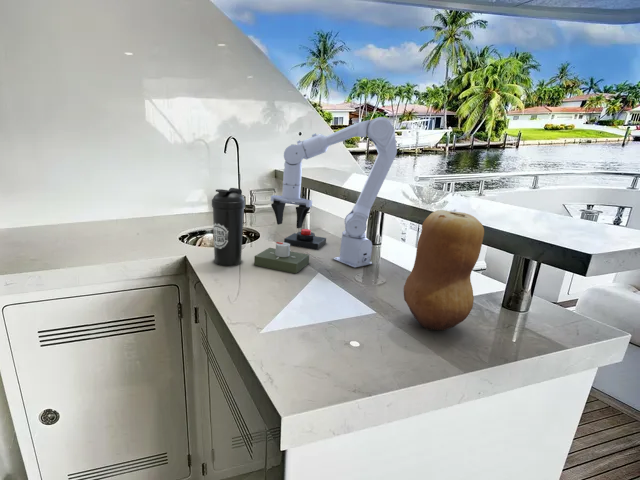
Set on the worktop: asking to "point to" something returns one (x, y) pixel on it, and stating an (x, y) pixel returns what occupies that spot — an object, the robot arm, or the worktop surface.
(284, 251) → the knob
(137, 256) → the worktop surface
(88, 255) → the worktop surface
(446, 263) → the butternut squash
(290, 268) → the dial panel
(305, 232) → the button
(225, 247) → the water bottle
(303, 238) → the button housing
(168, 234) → the worktop surface
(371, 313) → the worktop surface
